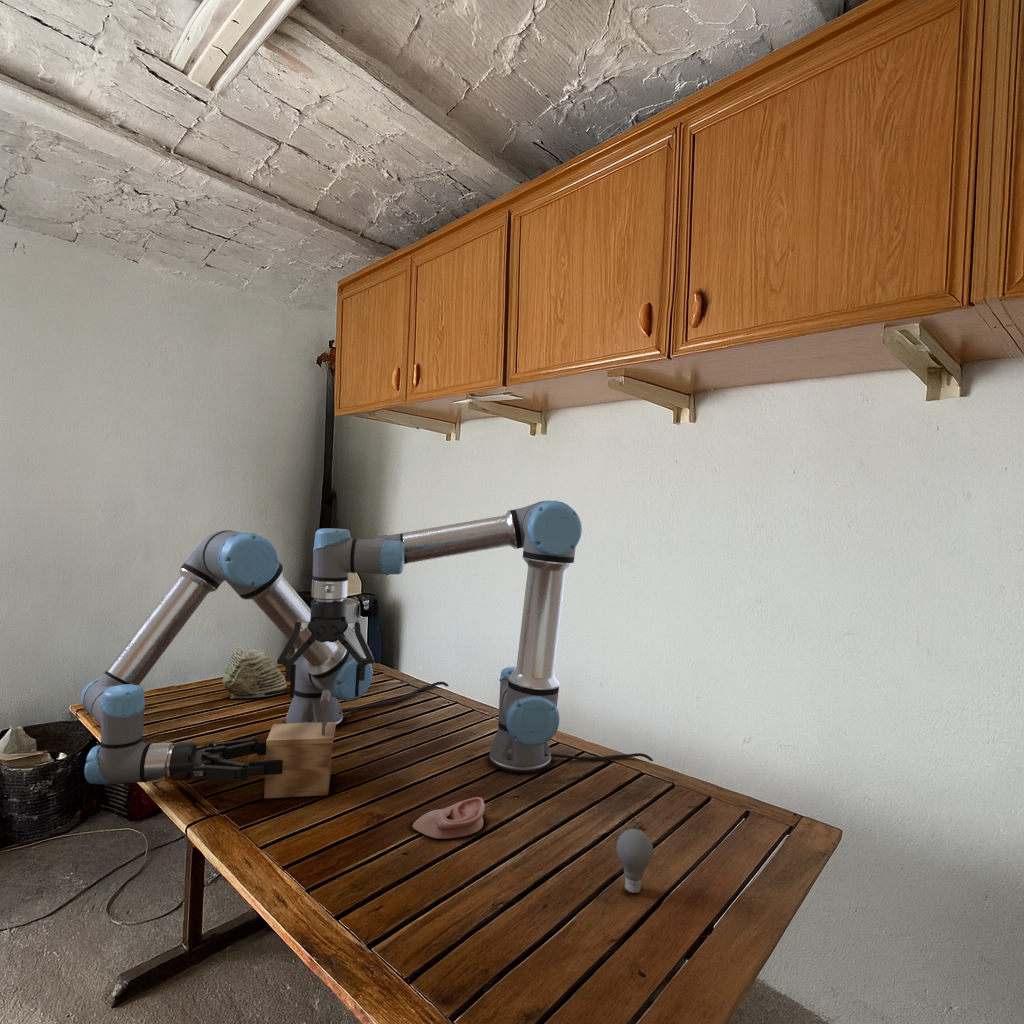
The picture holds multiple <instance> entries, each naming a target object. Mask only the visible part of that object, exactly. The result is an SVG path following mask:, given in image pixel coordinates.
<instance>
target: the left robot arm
mask: <svg viewBox="0 0 1024 1024" xmlns="http://www.w3.org/2000/svg"><path fill="white" fill-rule="evenodd" d="M284 569H285V567H284V566H283V565H282V563H281V562H280V561H279V554H278V551H277V549H276V547H275V545H274V544H272V542H270V540H268V539H267V538H265V537H263V536H261V535H258V534H257V533H252V532H241V531H235V530H229V529H228V530H227V529H224V530H220V531H215V532H214V533H212V534H210V535H208V536H207V537H206V538H205V539H204V540H203V539H202V541H201V542H200V543H199V544H198V545H197V547H195V549H194V550H193V551H192V552H191V553H190V555H189V556H188V557H187V559H186V560H185V561H184V562H183V564H181V566H180V567H179V576H178V578H177V579H176V580H175V581H174V582H173V584H172V585H171V587H170V588H169V589H168V591H167V592H166V593H165V594H164V596H162V598H161V599H160V600H159V602H158V604H157V605H156V606H155V607H154V608H153V610H152V611H151V612H150V614H149V615H148V616H147V617H146V619H145V620H144V621H143V623H142V624H141V625H140V627H139V628H137V630H136V631H135V633H134V634H133V636H132V637H131V638H130V640H129V641H128V642H127V643H126V644H125V646H124V647H123V648H122V650H121V651H120V652H119V653H118V654H117V656H116V657H115V659H114V660H113V661H112V662H111V664H110V665H109V667H107V669H106V670H105V671H104V673H102V675H101V677H99V678H96V679H94V680H92V681H91V682H88V684H87V685H85V686H84V688H83V689H82V692H81V695H80V702H81V705H82V706H83V709H84V710H85V712H86V713H87V714H88V715H90V716H91V717H92V718H93V719H94V720H95V721H96V722H97V723H98V724H99V725H100V744H99V745H95V746H93V747H91V749H90V750H89V752H88V753H87V756H86V759H85V765H84V777H85V780H86V781H87V783H89V784H90V785H109V786H113V785H122V784H123V785H124V784H136V783H154V784H159V783H160V782H168V781H169V780H171V781H172V782H178V781H179V782H181V781H190V780H191V779H192V781H200V780H210V781H224V782H225V781H226V782H246V781H248V776H249V777H250V776H265V775H271V774H282V764H283V760H266V759H265V760H249V762H248V763H246V762H241V761H237V760H234V759H237V758H241V757H246V756H250V755H254V754H256V755H257V756H266V741H259V737H257V736H256V737H255V736H254V737H251V738H243V739H242V738H241V739H235V740H234V739H233V740H227V741H217V742H215V741H214V742H213V741H211V742H208V744H207V747H205V748H201V749H198V746H197V744H196V742H194V741H180V742H176V743H174V742H153V743H144V726H145V725H144V724H145V708H146V700H145V689H144V688H143V686H141V684H142V682H143V680H144V679H145V678H146V677H147V675H148V674H149V673H150V671H151V670H152V669H153V667H154V666H155V665H156V664H157V662H158V661H159V659H160V658H161V657H162V655H163V654H164V653H165V651H166V650H167V649H168V648H169V646H170V645H171V643H173V641H174V639H176V637H177V636H178V635H179V633H180V632H181V630H182V629H183V627H185V625H186V623H187V622H188V621H189V620H190V619H191V617H192V616H193V614H194V613H195V612H196V610H197V609H198V607H200V605H201V604H202V602H203V601H204V600H205V598H207V596H208V595H209V594H210V593H213V592H216V591H217V590H218V589H219V587H220V586H221V585H222V584H223V583H224V582H226V583H227V585H229V586H230V588H231V589H233V590H234V592H235V593H236V594H237V595H238V596H239V598H241V599H242V600H245V601H246V600H248V601H249V600H251V601H253V602H254V603H255V604H256V605H257V607H258V608H259V609H260V610H261V611H262V612H263V614H265V616H266V617H267V618H268V619H269V620H270V622H271V623H272V624H273V625H274V626H275V627H276V628H277V629H278V631H280V633H282V634H283V636H284V637H285V638H286V639H287V640H288V641H289V639H290V637H291V636H292V634H293V632H294V627H295V623H296V621H297V620H301V621H302V622H309V621H310V618H311V607H309V606H308V605H307V603H306V602H305V601H304V600H303V599H302V597H301V596H300V595H299V594H298V592H297V591H296V590H295V589H294V588H293V587H292V585H291V584H290V583H289V582H288V581H287V579H286V578H285V576H283V575H284V571H285V570H284ZM311 634H312V633H311V632H310V630H309V629H308V628H305V629H304V631H302V632H300V633H299V635H298V637H297V638H296V640H295V642H294V644H293V645H292V646H293V647H294V648H295V650H294V653H295V652H296V651H297V650H298V649H299V648H300V646H301V645H302V644H303V643H304V642H305V641H306V640H307V639H308V638H309V637H310V636H311ZM362 657H363V658H365V657H364V656H362ZM356 664H358V663H357V661H356V660H355V659H354V658H353V657H352V655H351V654H350V653H349V652H348V651H347V649H346V648H345V647H344V646H343V645H342V644H341V643H340V642H339V640H337V641H335V642H319V641H317V640H315V641H314V642H313V643H312V644H311V645H310V646H309V647H308V649H307V650H306V651H305V652H304V653H303V654H302V655H301V656H300V657H299V658H298V659H297V660H296V661H295V662H294V665H296V678H295V695H294V698H291V702H290V704H289V708H288V711H287V713H286V715H285V724H288V723H319V722H322V710H323V707H321V706H320V700H321V696H322V692H323V691H324V690H329V691H330V692H331V696H330V701H329V705H328V706H327V722H336V728H337V727H339V726H340V725H342V723H343V722H344V714H343V713H347V712H354V711H360V710H365V709H372V708H375V707H376V708H377V707H381V706H385V705H390V704H393V703H397V702H400V701H403V700H406V699H408V698H410V697H411V696H413V695H416V694H418V693H420V692H422V691H424V690H426V689H431V688H433V687H436V686H440V685H441V686H442V685H443V686H445V687H449V686H450V685H449V684H448V683H447V682H445V681H436V682H434V683H430V684H427V685H424V686H421V687H419V688H417V689H415V690H412V691H411V692H409V693H406V694H405V695H402V696H399V697H397V698H393V699H389V700H385V701H384V700H383V701H379V702H375V703H371V704H365V705H358V706H352V707H351V706H350V707H346V708H342V706H341V702H340V701H343V702H349V703H350V702H353V701H354V702H355V701H357V700H359V699H360V698H361V697H363V696H364V695H365V694H366V692H368V690H369V688H370V686H371V684H372V681H373V675H374V670H373V666H372V664H368V665H366V667H365V679H364V681H359V694H358V697H355V683H356ZM429 685H431V686H429ZM232 759H233V760H232Z"/></svg>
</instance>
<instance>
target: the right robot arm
mask: <svg viewBox="0 0 1024 1024" xmlns="http://www.w3.org/2000/svg"><path fill="white" fill-rule="evenodd" d="M582 532H583V527H582V521H581V519H580V516H579V515H578V513H577V511H575V509H574V508H573V507H571V506H570V505H569V504H567V503H565V502H563V501H560V500H542V501H541V500H540V501H537V502H535V503H532V504H529V505H527V506H523V507H519V508H515V509H509V510H507V512H506V513H505V514H503V515H499V516H492V517H487V518H481V519H476V520H469V521H464V522H458V523H453V524H452V523H451V524H446V525H441V526H434V527H429V528H423V529H417V530H411V531H406V532H405V531H404V532H401V533H394V534H383V535H378V536H377V537H374V538H373V539H366V538H365V539H363V538H360V539H358V538H354V537H353V538H352V536H351V531H350V530H349V529H347V528H346V529H345V528H335V527H334V528H331V527H330V528H327V527H325V528H319V529H317V530H316V531H315V534H314V542H313V548H312V555H313V556H312V580H311V597H312V598H313V599H312V600H311V602H310V609H311V618H310V621H309V622H302V621H301V620H297V621H296V623H295V627H294V632H293V634H292V636H291V637H290V639H289V640H288V641H287V643H286V645H285V646H284V648H283V650H281V651H282V652H281V654H279V656H278V658H277V660H276V663H277V665H281V666H284V668H285V674H284V675H285V676H284V677H285V680H286V683H289V682H290V683H289V699H293V698H294V695H295V678H296V665H295V661H296V660H297V659H298V658H299V657H300V656H301V655H302V654H303V653H304V652H305V651H306V650H307V649H308V647H309V646H310V645H311V644H312V643H313V642H314V641H315V640H317V641H319V642H335V641H337V640H339V642H340V643H341V644H342V645H343V646H344V647H345V648H346V649H347V651H348V652H349V653H350V654H351V655H352V657H353V658H354V659H355V660H356V661H357V663H358V664H356V683H355V697H358V694H359V681H364V679H365V667H366V665H368V664H371V665H372V664H374V661H375V660H374V659H375V658H374V655H373V653H372V651H371V649H370V647H369V645H368V642H367V640H366V638H365V636H364V634H363V632H362V629H361V627H362V626H361V621H360V620H359V619H357V620H355V621H350V622H349V621H348V620H347V607H348V602H347V600H346V598H347V597H348V589H349V587H348V586H349V574H373V575H385V576H389V575H401V574H402V573H403V572H404V568H405V565H407V564H412V563H418V562H425V561H429V560H435V559H441V558H448V557H453V556H459V555H464V554H471V553H477V552H482V551H488V550H494V549H499V548H505V547H511V548H513V549H514V550H518V549H523V551H522V559H523V560H524V562H525V563H526V564H527V574H526V581H525V590H524V599H523V607H522V616H521V625H520V634H519V642H518V649H517V650H518V651H517V659H516V666H507V667H504V668H502V669H501V670H500V678H499V679H498V680H499V698H498V699H499V701H498V725H497V730H496V733H495V735H494V739H493V741H492V744H491V746H490V749H489V757H488V758H489V762H490V763H491V765H493V766H494V767H495V768H498V769H499V770H502V771H505V772H510V773H514V774H515V773H517V774H531V773H538V772H541V771H544V770H546V769H547V768H549V767H550V766H551V763H552V758H562V759H570V760H577V761H578V760H579V761H602V760H604V761H605V760H613V759H622V758H623V759H625V758H633V757H635V758H636V757H643V758H646V759H647V760H648V761H650V762H654V759H653V758H652V757H651V756H650V755H648V754H645V753H642V752H636V753H626V754H612V755H604V756H577V755H568V754H559V753H552V751H551V748H550V744H549V741H551V740H552V739H553V738H554V737H555V735H556V733H557V732H558V730H559V727H560V719H561V718H560V712H559V709H558V700H559V692H560V691H559V690H560V681H559V680H558V679H557V678H556V677H555V667H556V660H557V651H558V644H559V643H558V641H559V634H560V626H561V624H560V623H561V616H562V607H563V601H564V592H565V591H564V590H565V582H566V575H567V570H568V569H570V568H571V566H573V565H574V563H575V555H576V549H577V548H576V547H577V546H578V544H579V543H580V541H581V537H582V534H583V533H582ZM305 628H308V629H309V630H310V632H311V633H312V634H311V636H310V637H309V638H308V639H307V640H306V641H305V642H304V643H303V644H302V645H301V646H300V648H299V649H298V650H297V651H296V652H295V651H294V653H293V654H292V655H291V656H290V657H289V658H287V656H288V654H289V652H290V651H291V649H292V647H293V646H294V645H293V644H294V642H295V640H296V638H297V637H298V635H299V633H300V632H302V631H304V629H305ZM348 629H350V631H351V632H352V633H354V634H355V636H356V639H357V641H358V643H359V645H360V647H361V650H362V652H363V655H364V656H365V657H364V656H362V654H361V653H360V652H359V651H358V649H357V648H356V647H355V646H354V645H353V644H352V641H350V640H349V639H348V637H347V636H346V635H345V633H346V632H347V630H348ZM363 657H364V658H363Z"/></svg>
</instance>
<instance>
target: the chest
mask: <svg viewBox="0 0 1024 1024" xmlns="http://www.w3.org/2000/svg"><path fill="white" fill-rule="evenodd" d="M332 753H333V743H326V744H300V745H275V746H266V755H265V760H283V764H282V774H271V775H264V794H263V795H264V797H263V799H278V798H297V797H316V796H329V793H330V792H329V791H330V784H331V776H332V759H333V757H332V755H333V754H332Z"/></svg>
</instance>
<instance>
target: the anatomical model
mask: <svg viewBox="0 0 1024 1024" xmlns="http://www.w3.org/2000/svg"><path fill="white" fill-rule="evenodd" d="M485 809H486V806H485V801H484V798H482V797H480V796H479V797H478V796H476V797H470V798H467V799H463V800H461V801H458V802H456V803H454V804H451V805H449V806H447V807H444V808H440V809H434V810H430V811H428V812H426V813H424V814H422V815H421V816H420V817H419V818H417V819H416V820H415V821H414V822H413V824H412V828H413V830H415V831H417V832H419V833H421V834H422V835H424V836H427V837H429V838H432V839H437V840H440V839H441V840H445V839H455V838H461V837H466V836H470V835H472V834H475V833H477V832H479V831H480V830H482V828H483V827H484V818H483V817H484V816H483V815H484V813H485Z"/></svg>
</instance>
